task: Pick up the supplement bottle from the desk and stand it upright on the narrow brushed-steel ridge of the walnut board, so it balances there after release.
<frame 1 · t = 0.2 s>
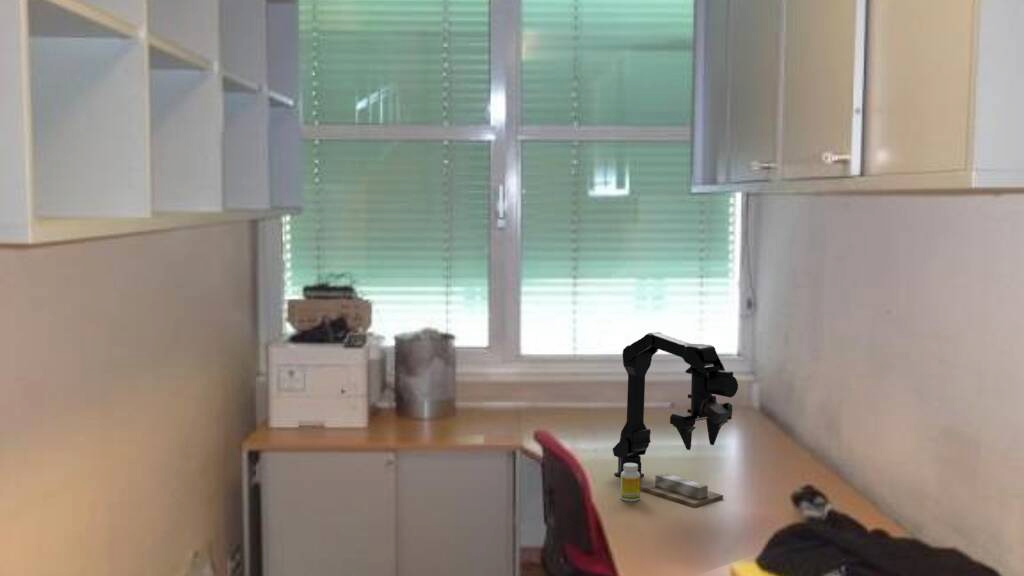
hand: (700, 447, 274), 14 cm above the table, fingers open, 9 cm apart
ridge board: (680, 494, 279), on the table
supplement bottle: (630, 499, 275), on the table
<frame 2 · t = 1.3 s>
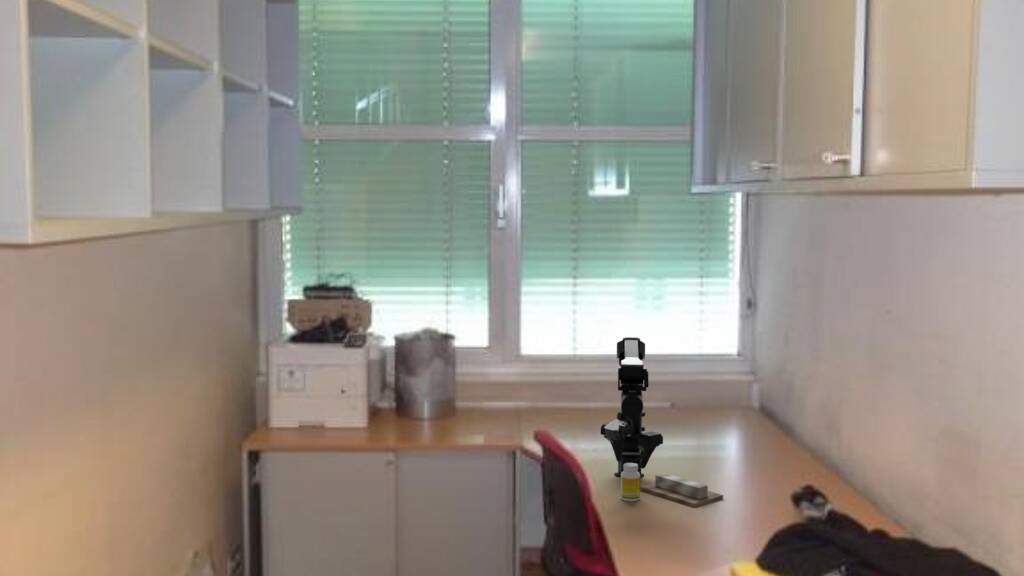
hand: (630, 464, 274), 9 cm above the table, fingers open, 9 cm apart
nothing on the table moved.
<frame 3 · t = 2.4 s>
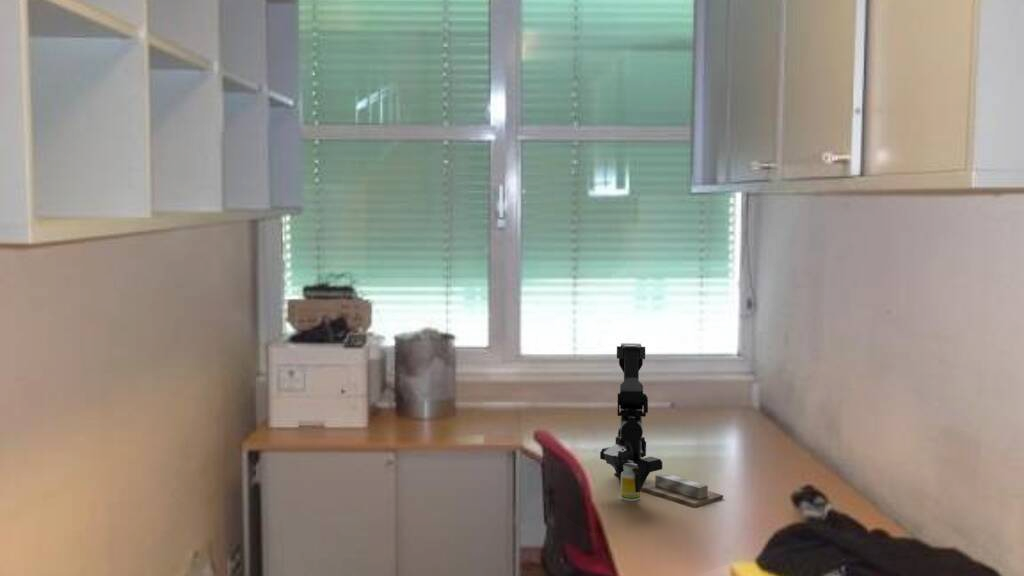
hand: (630, 489, 275), 3 cm above the table, fingers closed on supplement bottle, 5 cm apart
supplement bottle: (630, 499, 275), on the table, touching gripper
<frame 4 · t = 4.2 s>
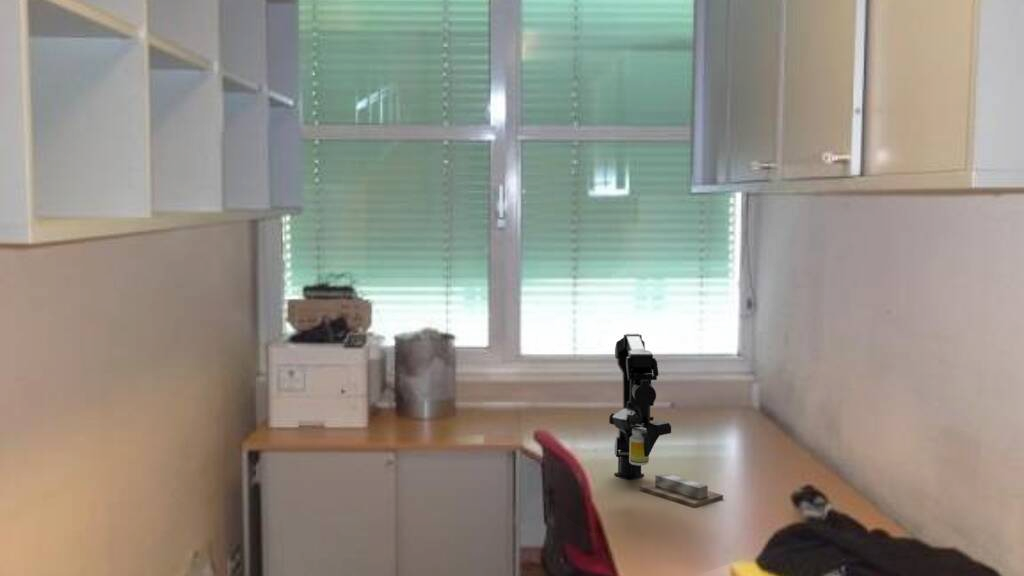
hand: (639, 454, 275), 12 cm above the table, fingers closed on supplement bottle, 5 cm apart
supplement bottle: (638, 463, 275), point 10 cm above the table, touching gripper
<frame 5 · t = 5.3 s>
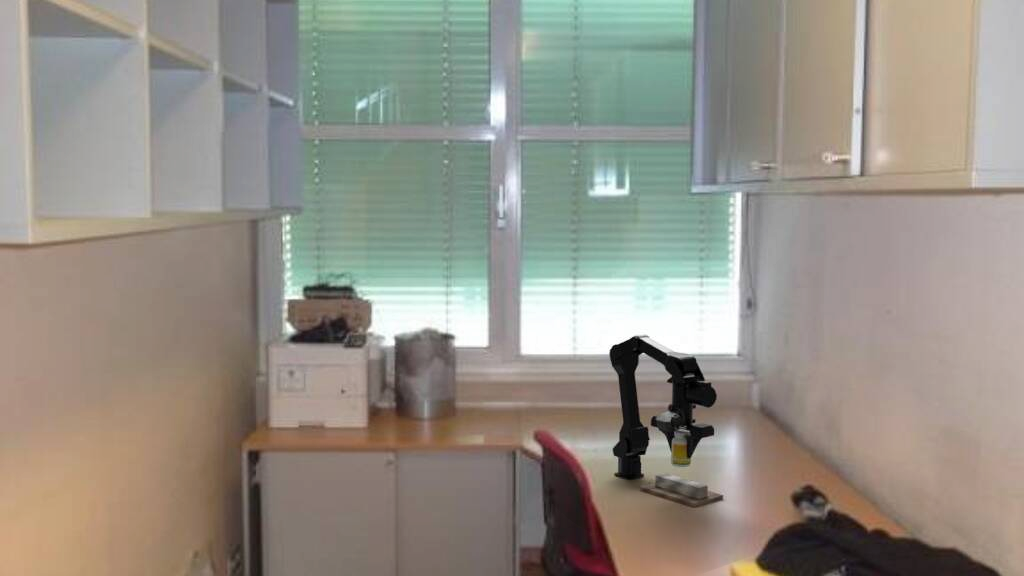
hand: (681, 456, 278), 11 cm above the table, fingers closed on supplement bottle, 5 cm apart
supplement bottle: (680, 465, 279), point 8 cm above the table, touching gripper
when the fingers open (8 cm above the table, at t = 6.2 s): supplement bottle drops 1 cm, resting on ridge board.
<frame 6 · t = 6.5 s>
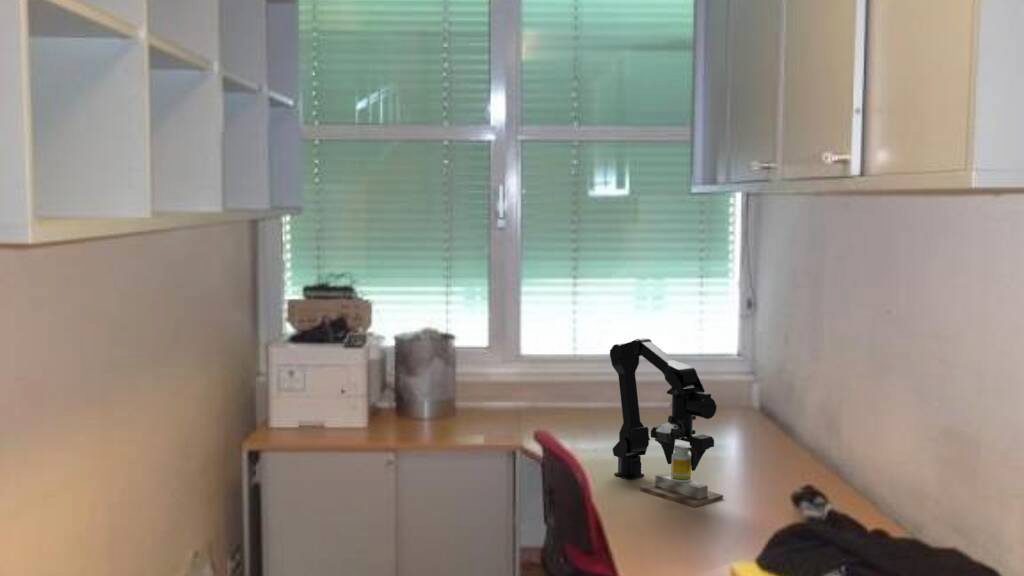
hand: (681, 467, 279), 8 cm above the table, fingers open, 8 cm apart
supplement bottle: (680, 480, 279), point 4 cm above the table, touching ridge board
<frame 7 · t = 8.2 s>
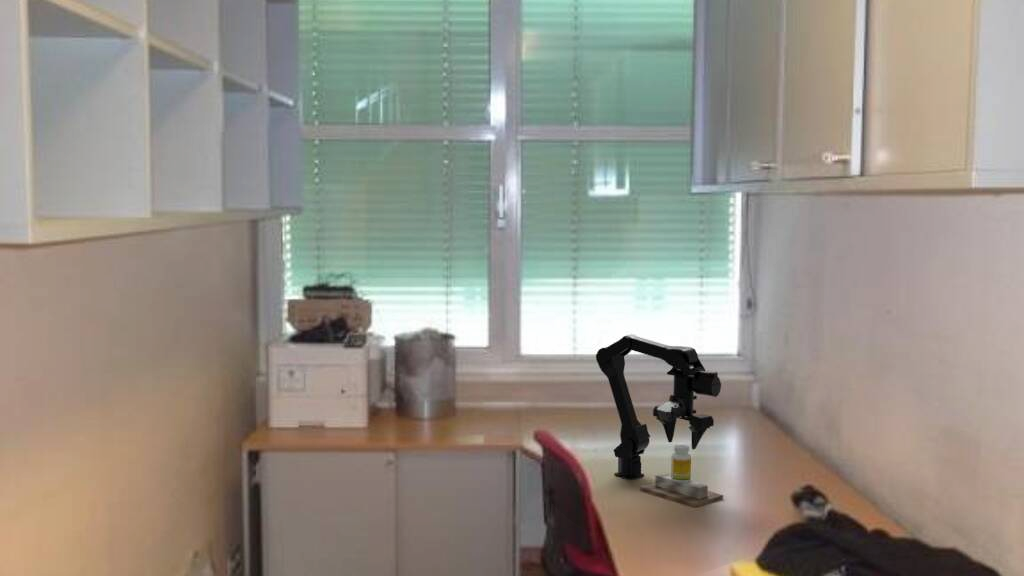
hand: (681, 445, 286), 12 cm above the table, fingers open, 9 cm apart
nothing on the table moved.
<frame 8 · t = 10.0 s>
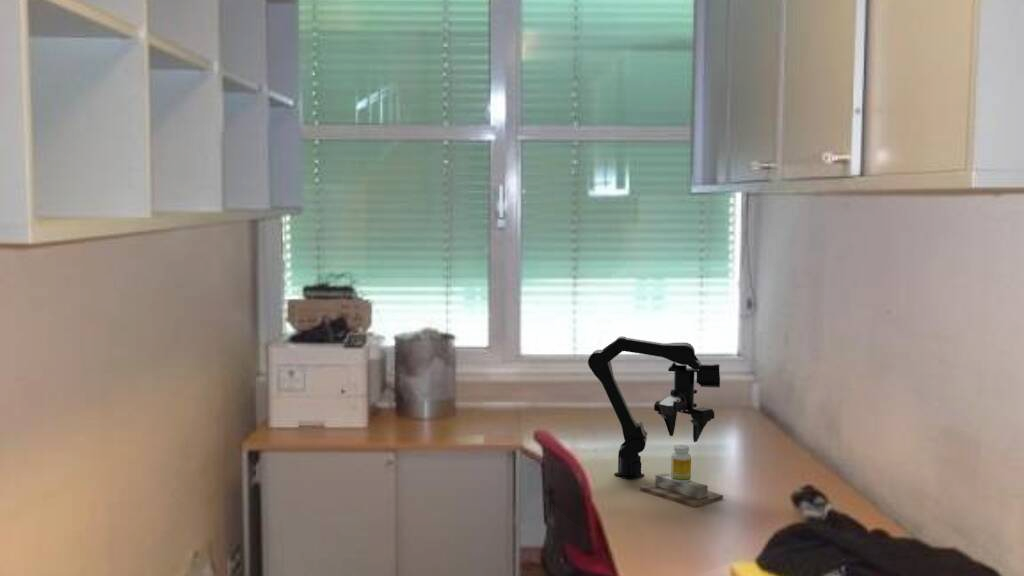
hand: (683, 438, 293), 12 cm above the table, fingers open, 9 cm apart
nothing on the table moved.
at the end: supplement bottle inside the target area on the ridge board (0.0 cm from its centre), point 3.8 cm above the ridge board's base; supplement bottle tilted 0°; the gripper is holding nothing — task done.
